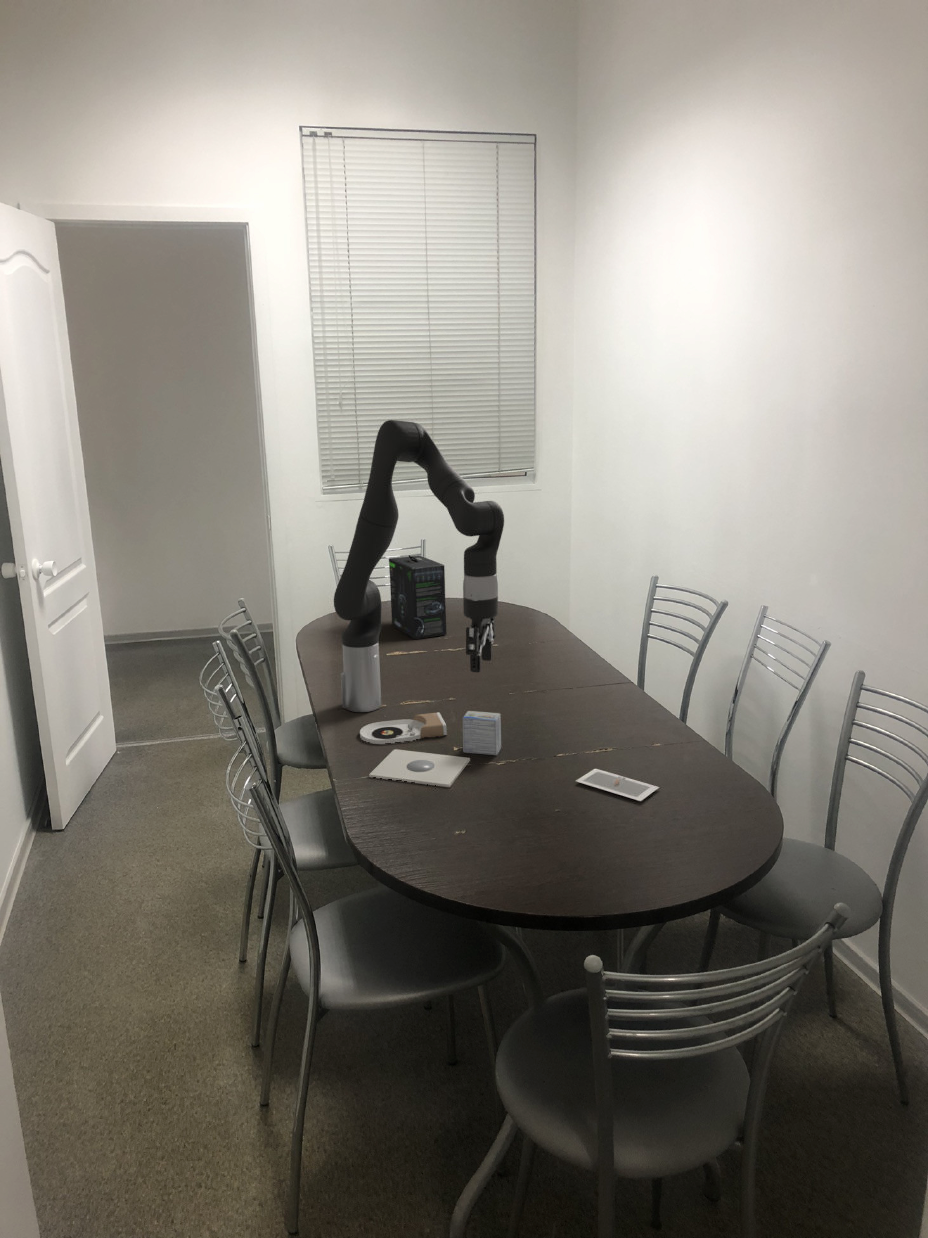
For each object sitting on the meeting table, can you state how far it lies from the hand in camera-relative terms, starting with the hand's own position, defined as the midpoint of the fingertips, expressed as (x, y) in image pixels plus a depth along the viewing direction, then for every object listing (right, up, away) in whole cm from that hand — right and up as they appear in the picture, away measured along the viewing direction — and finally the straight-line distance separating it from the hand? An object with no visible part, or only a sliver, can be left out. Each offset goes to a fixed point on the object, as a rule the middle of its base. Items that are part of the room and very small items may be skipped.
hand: (481, 665), depth 193 cm
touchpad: (+27, -25, -14) cm, 39 cm away
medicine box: (0, -20, +5) cm, 20 cm away
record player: (-19, -17, +17) cm, 30 cm away
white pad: (-13, -22, -4) cm, 26 cm away
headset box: (-19, +6, +106) cm, 108 cm away
